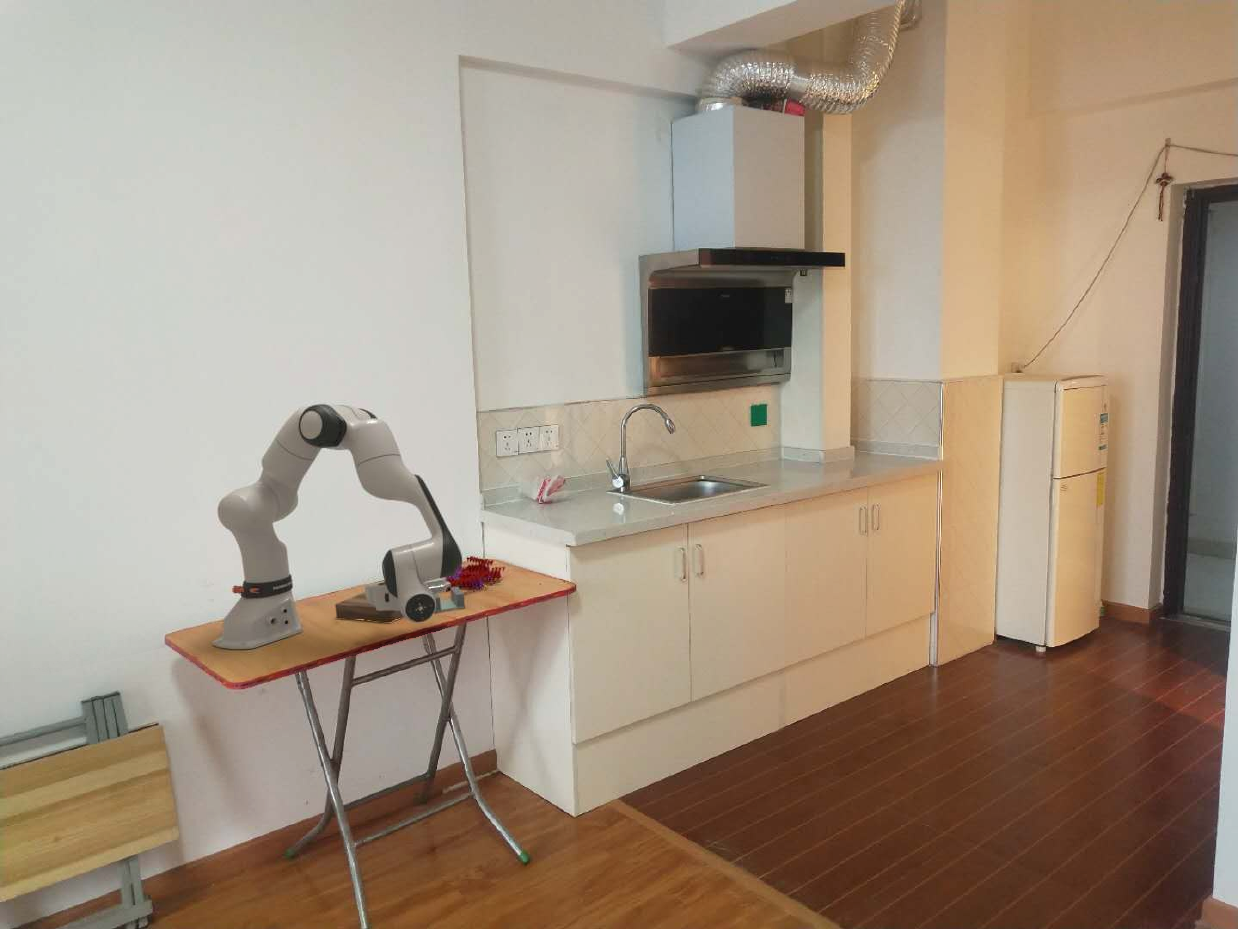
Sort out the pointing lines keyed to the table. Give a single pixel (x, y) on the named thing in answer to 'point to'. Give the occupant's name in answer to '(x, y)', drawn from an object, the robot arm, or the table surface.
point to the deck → (364, 610)
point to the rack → (450, 601)
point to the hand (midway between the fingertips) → (402, 581)
